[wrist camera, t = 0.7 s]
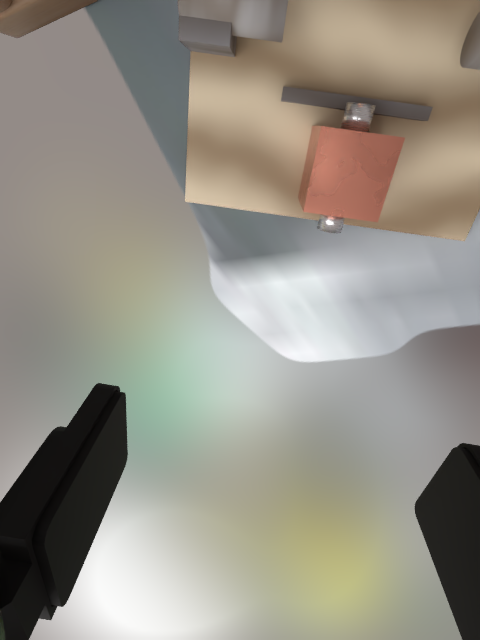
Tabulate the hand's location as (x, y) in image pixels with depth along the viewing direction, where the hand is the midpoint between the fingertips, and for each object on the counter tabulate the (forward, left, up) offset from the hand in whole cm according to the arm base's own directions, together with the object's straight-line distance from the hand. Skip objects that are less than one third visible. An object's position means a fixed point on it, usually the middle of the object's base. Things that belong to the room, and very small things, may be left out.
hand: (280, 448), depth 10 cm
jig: (-11, +4, -23) cm, 26 cm away
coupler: (-6, +4, -22) cm, 23 cm away
